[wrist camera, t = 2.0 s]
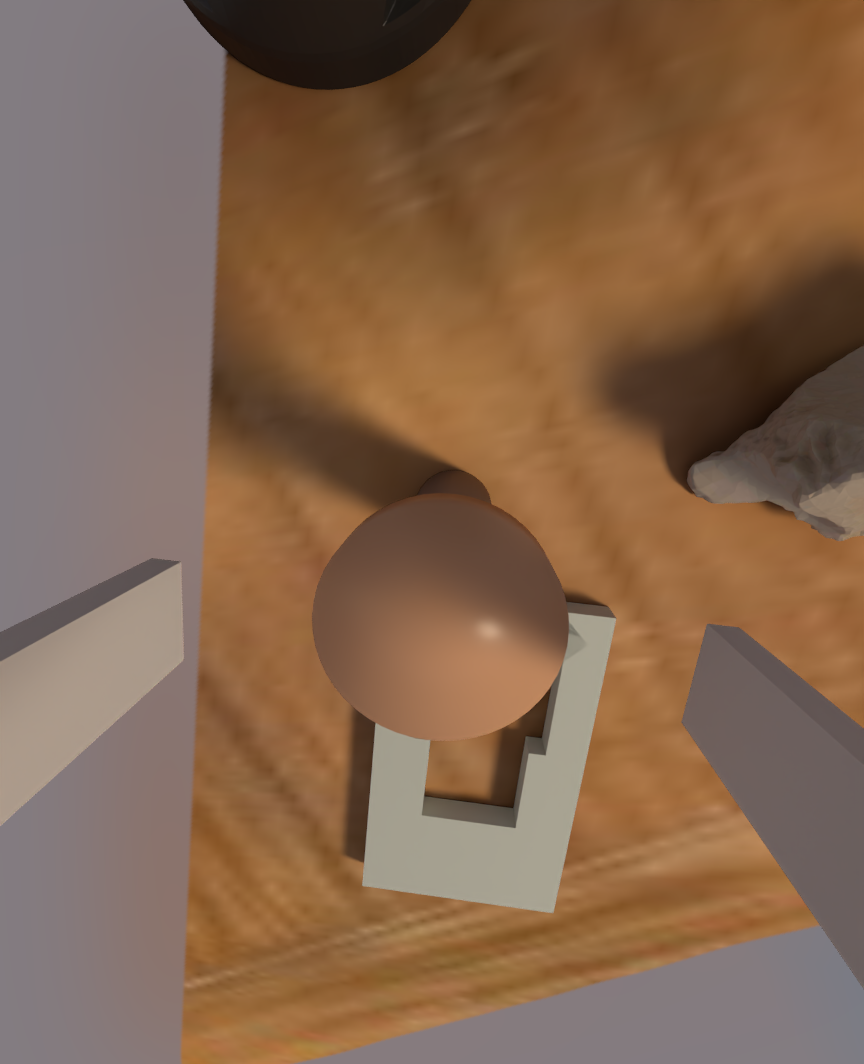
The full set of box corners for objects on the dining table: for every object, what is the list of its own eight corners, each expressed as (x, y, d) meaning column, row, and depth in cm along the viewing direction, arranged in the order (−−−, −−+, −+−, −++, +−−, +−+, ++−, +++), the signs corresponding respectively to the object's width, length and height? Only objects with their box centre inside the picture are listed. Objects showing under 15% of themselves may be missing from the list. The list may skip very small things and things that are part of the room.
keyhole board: (390, 580, 28) (386, 590, 26) (608, 606, 27) (616, 618, 26) (367, 864, 33) (362, 885, 32) (549, 890, 33) (553, 912, 31)
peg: (398, 440, 26) (317, 490, 12) (522, 453, 25) (591, 520, 12) (388, 558, 27) (308, 724, 13) (505, 571, 27) (546, 755, 13)
